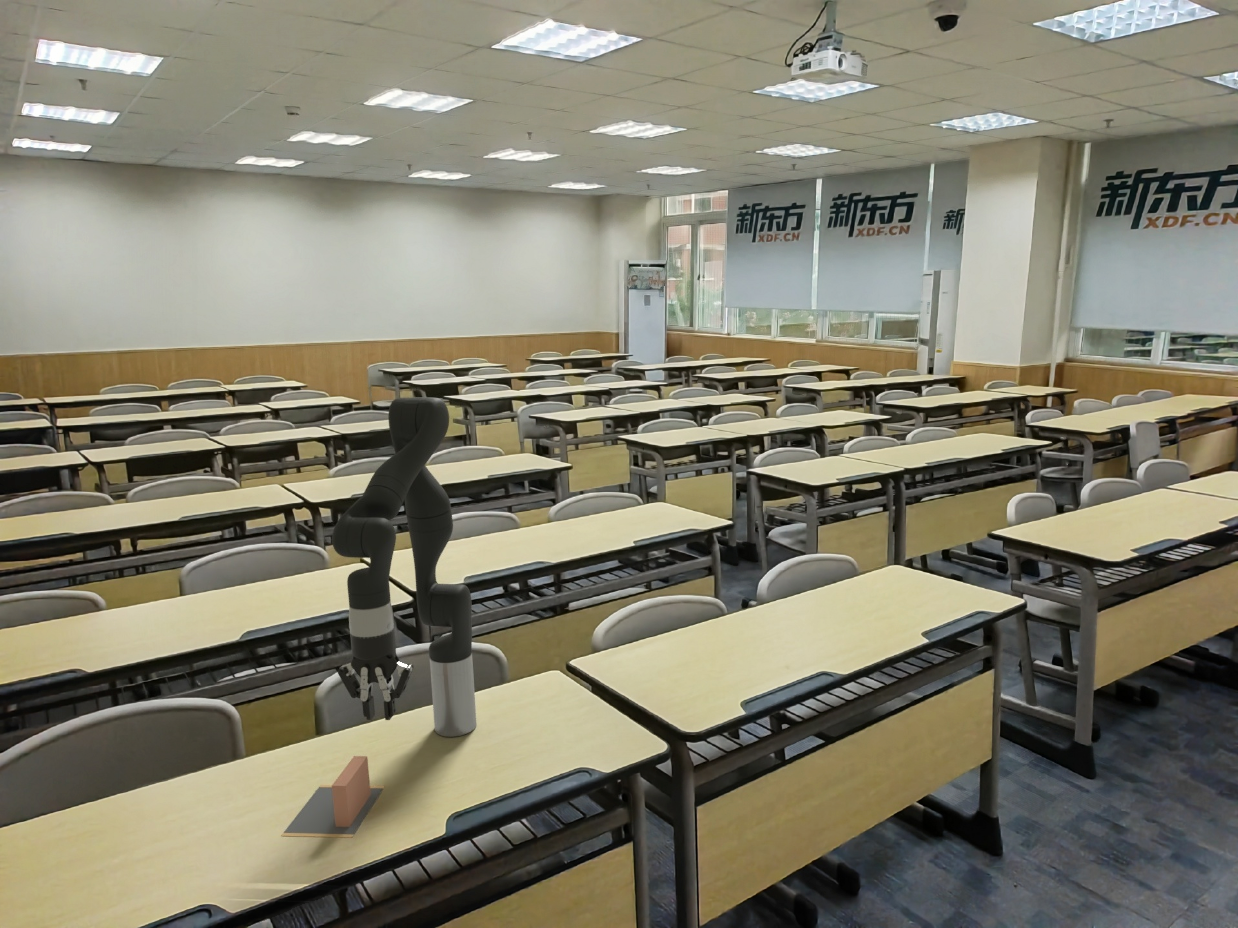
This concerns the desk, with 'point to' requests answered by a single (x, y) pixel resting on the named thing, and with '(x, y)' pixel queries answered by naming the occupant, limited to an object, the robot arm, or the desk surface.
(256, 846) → the desk surface
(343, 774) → the slab
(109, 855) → the desk surface
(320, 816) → the mat
